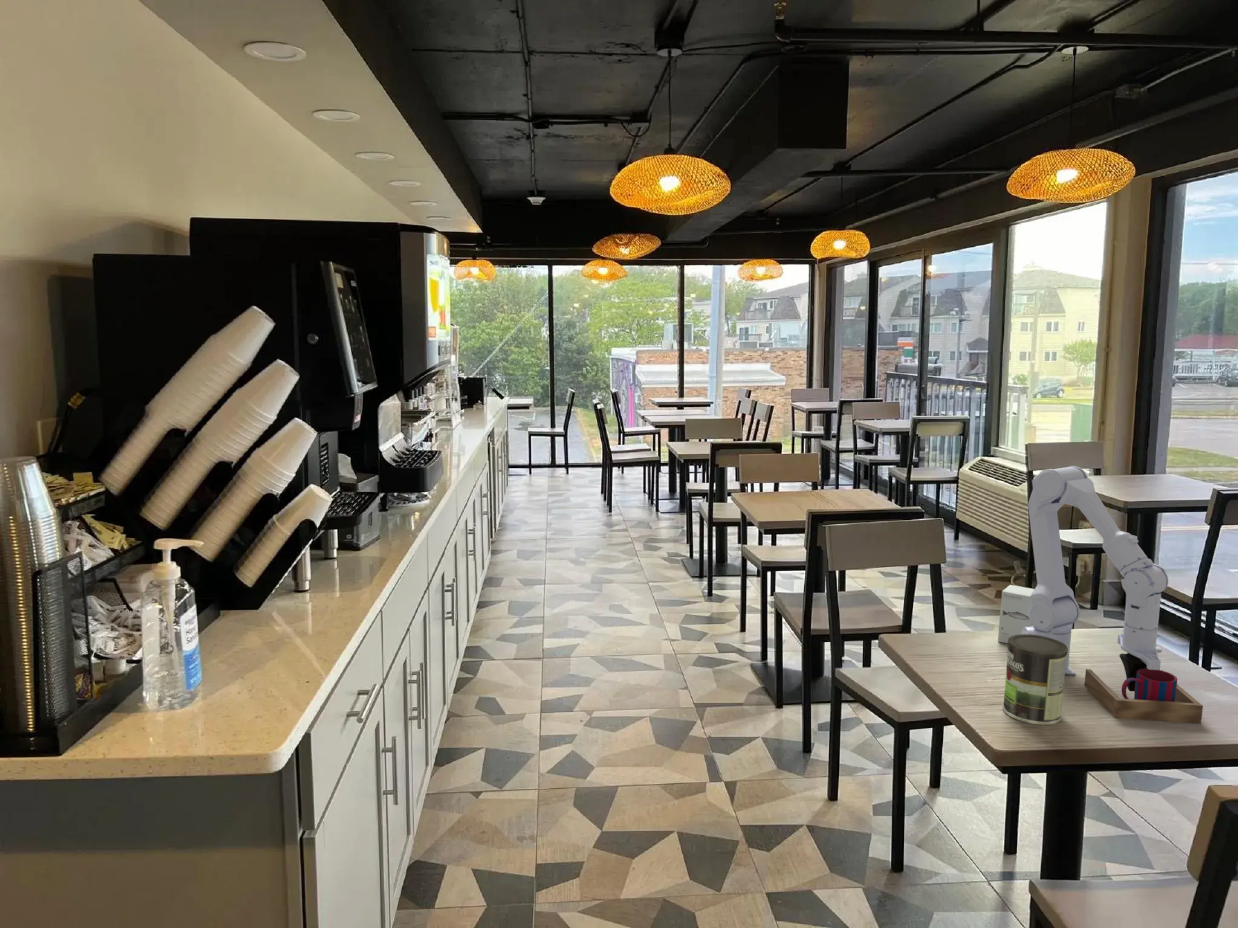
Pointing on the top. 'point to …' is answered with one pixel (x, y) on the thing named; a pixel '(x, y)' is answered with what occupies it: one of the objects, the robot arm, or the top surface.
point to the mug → (1153, 685)
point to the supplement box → (1014, 611)
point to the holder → (1145, 704)
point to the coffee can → (1035, 679)
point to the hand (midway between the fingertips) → (1134, 690)
